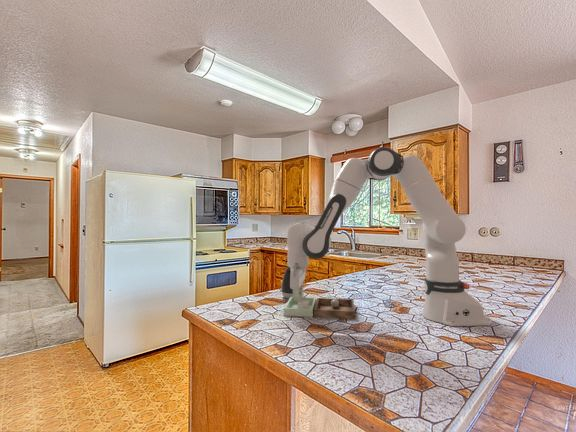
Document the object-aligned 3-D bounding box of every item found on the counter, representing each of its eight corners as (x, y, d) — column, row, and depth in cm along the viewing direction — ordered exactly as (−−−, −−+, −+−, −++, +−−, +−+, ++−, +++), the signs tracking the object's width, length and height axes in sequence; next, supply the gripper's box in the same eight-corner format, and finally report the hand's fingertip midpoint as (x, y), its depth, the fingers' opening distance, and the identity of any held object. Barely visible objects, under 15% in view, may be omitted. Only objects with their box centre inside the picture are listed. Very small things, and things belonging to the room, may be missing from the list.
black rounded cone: (277, 300, 137) (277, 267, 137) (286, 294, 147) (285, 263, 147) (298, 302, 133) (298, 268, 133) (306, 296, 143) (305, 264, 143)
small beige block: (309, 310, 120) (309, 300, 119) (308, 313, 116) (308, 303, 116) (299, 310, 120) (299, 300, 120) (297, 313, 116) (297, 303, 116)
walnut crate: (353, 307, 125) (353, 299, 125) (355, 321, 110) (355, 311, 110) (317, 306, 128) (317, 297, 128) (314, 319, 112) (313, 309, 112)
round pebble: (339, 306, 125) (339, 298, 125) (339, 309, 121) (339, 300, 121) (330, 306, 125) (330, 297, 125) (330, 308, 122) (330, 300, 122)
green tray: (316, 306, 128) (316, 297, 128) (312, 319, 112) (312, 309, 112) (290, 304, 130) (290, 296, 130) (283, 317, 114) (283, 308, 114)
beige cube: (303, 296, 126) (303, 286, 126) (302, 299, 122) (302, 289, 122) (294, 296, 127) (294, 286, 127) (292, 298, 123) (292, 288, 123)
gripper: (302, 266, 114) (302, 302, 114) (308, 258, 134) (308, 289, 134) (286, 265, 115) (286, 301, 115) (294, 257, 135) (294, 288, 135)
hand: (298, 294), depth 125 cm, fingers closed on beige cube, 4 cm apart
